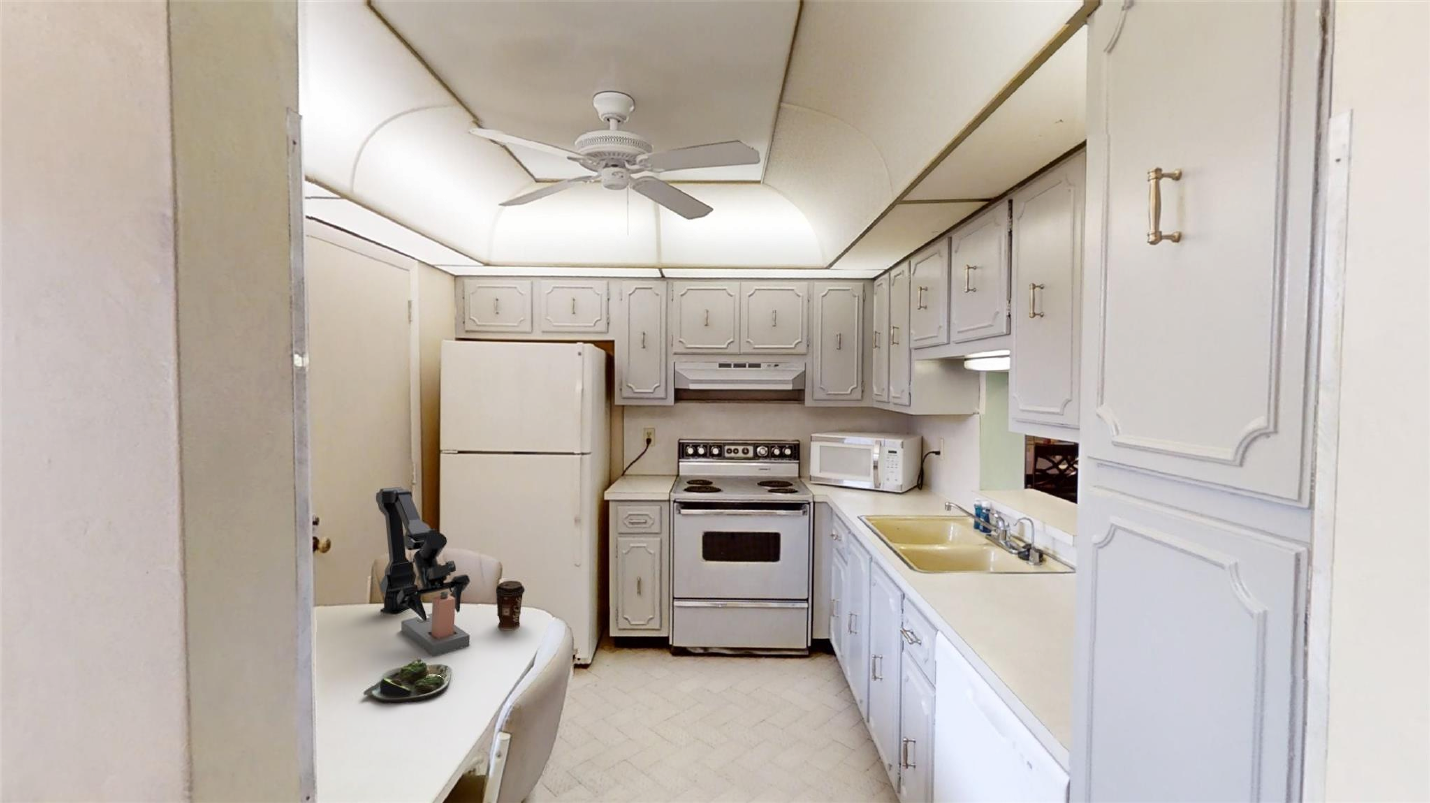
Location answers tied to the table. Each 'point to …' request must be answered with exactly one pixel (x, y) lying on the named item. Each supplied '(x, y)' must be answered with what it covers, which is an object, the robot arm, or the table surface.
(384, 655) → the table surface
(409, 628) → the grey slotted holder
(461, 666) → the table surface
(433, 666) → the salad plate
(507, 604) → the coffee cup
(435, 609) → the pink capped bottle
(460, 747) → the table surface
